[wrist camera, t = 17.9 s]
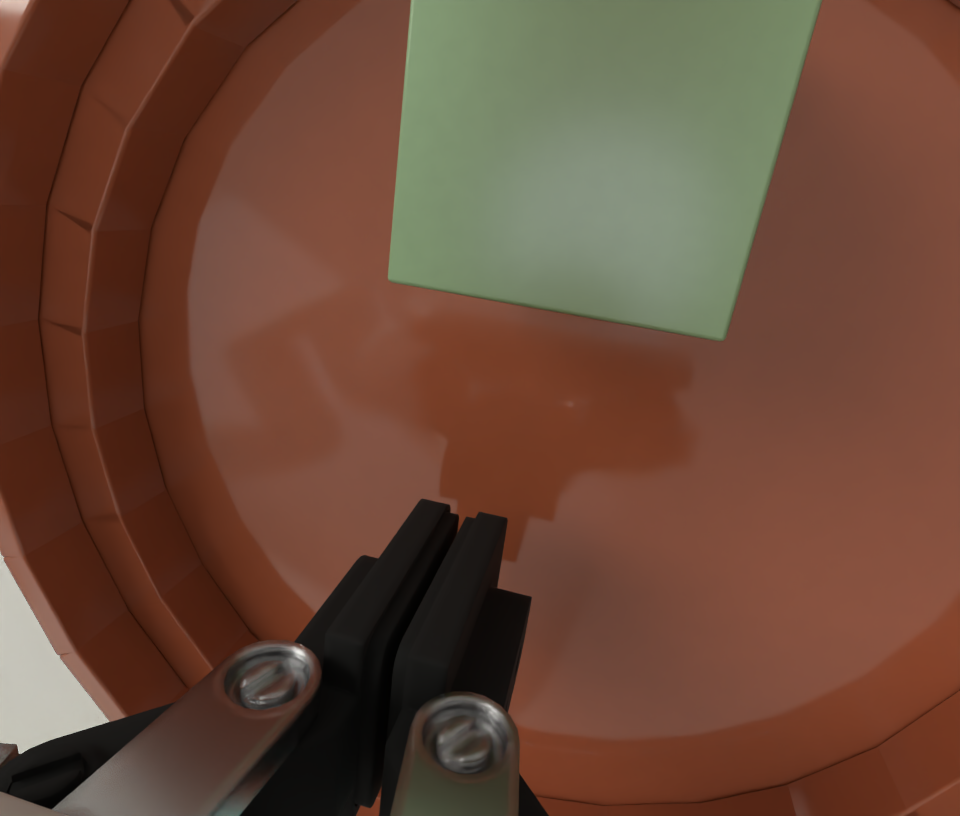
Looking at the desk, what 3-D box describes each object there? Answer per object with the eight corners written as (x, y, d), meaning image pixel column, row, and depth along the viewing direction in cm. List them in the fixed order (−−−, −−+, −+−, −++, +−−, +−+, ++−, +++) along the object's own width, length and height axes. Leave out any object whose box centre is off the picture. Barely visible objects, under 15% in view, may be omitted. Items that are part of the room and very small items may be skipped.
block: (467, 256, 11) (385, 282, 7) (499, 1, 10) (419, -123, 6) (691, 294, 10) (725, 344, 7) (761, 26, 9) (852, -97, 5)
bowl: (133, 692, 18) (24, 800, 15) (51, -237, 11) (-202, -430, 7) (915, 942, 14) (999, 1157, 11) (1603, -215, 7) (2446, -579, 4)
